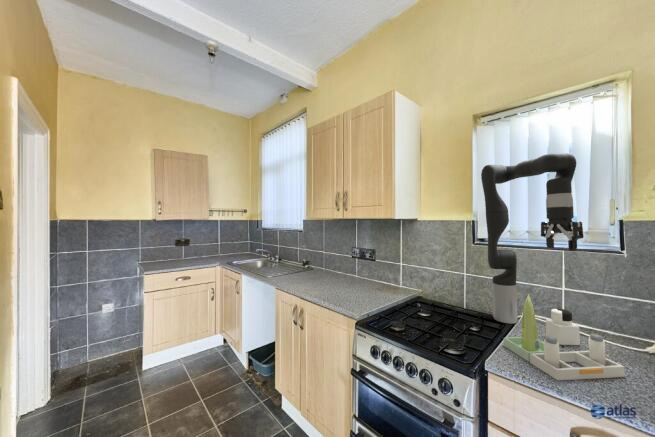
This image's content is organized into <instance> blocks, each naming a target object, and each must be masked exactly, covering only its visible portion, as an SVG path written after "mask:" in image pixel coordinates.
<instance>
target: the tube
mask: <svg viewBox="0 0 655 437" xmlns="http://www.w3.org/2000/svg"><path fill="white" fill-rule="evenodd" d="M538 331H539V330H538V326H537V317H536V314H535V310H534V304H533V303H532V299H531V296H530V293H527V297H526V299H525V302H524V306H523V311H522V318H521V337H522V348H523V349H525V350H526V351H528V352H533V351H539V341H538V340H539V333H538Z"/></svg>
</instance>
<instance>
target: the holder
mask: <svg viewBox="0 0 655 437" xmlns="http://www.w3.org/2000/svg"><path fill="white" fill-rule="evenodd" d="M559 357H560V368H558V369H557V368H556V367H554V366H552V365H551V364H549V363H547V362H546V361H545V360H544V353H532V354H530V364H531V365H533V366H535V367H536V368H538V369H539V370H541V371H542V372H544V373H546V374H547V375H548V376H550V377H551V378H553V379H554V380H556V381H567V380H568V381H570V380H572V381H574V380H589V379H590V380H591V379H607V378H608V379H609V378H611V379H612V378H625V377H626V370H625V366H624V365H622V364H620V363H617V362H616V361H613V360H611V359H609V358H607V357H606V366H604V365H602V364H600V363H598V362H596V361H594V360H592V359H590V358H589V350H573V351H572V350H571V351H560V352H559ZM568 363H577V364H579V365H581V367H579V366H577V367H574V366H572V365H570V364H568Z"/></svg>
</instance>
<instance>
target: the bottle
mask: <svg viewBox="0 0 655 437" xmlns="http://www.w3.org/2000/svg"><path fill="white" fill-rule="evenodd" d="M543 342H544V360H545V361H546V362H547V363H549V364H551V365H552V366H554V367H556V368H557V369H558V368H560V357H559V351H560V345H559V343H558V342H557V338H555V337H552V336H546V335H545V337H544V339H543Z"/></svg>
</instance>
